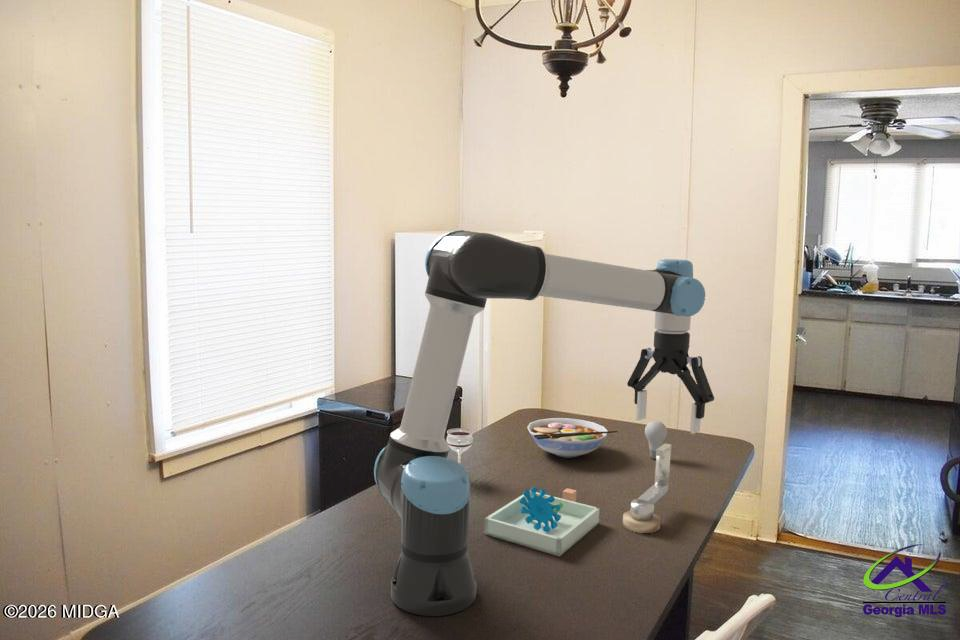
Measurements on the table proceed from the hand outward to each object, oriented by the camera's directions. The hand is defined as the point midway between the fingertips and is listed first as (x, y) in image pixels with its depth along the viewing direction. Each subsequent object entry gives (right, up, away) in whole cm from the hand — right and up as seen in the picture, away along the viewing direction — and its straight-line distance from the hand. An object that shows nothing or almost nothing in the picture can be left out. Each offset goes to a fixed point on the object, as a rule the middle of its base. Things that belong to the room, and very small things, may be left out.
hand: (667, 425), depth 163 cm
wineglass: (-47, -17, +25) cm, 56 cm away
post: (-21, -20, +8) cm, 30 cm away
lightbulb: (+8, -16, +44) cm, 48 cm away
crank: (-3, -19, +4) cm, 20 cm away
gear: (-28, -21, -4) cm, 36 cm away
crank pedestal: (-6, -22, -1) cm, 23 cm away
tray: (-28, -22, -4) cm, 36 cm away
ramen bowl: (-17, -15, +47) cm, 52 cm away
